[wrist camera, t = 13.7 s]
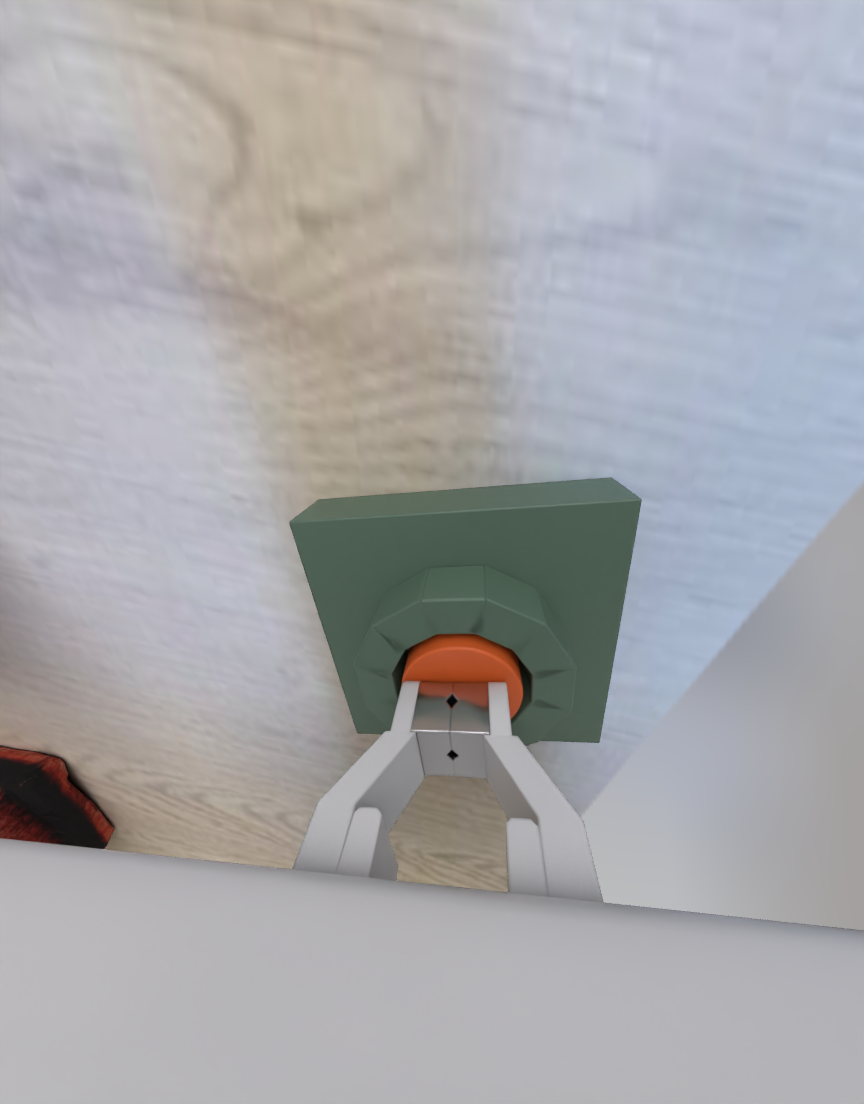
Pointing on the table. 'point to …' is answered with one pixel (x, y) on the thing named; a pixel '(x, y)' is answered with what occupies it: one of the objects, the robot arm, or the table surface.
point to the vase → (46, 803)
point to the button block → (477, 590)
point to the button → (465, 663)
